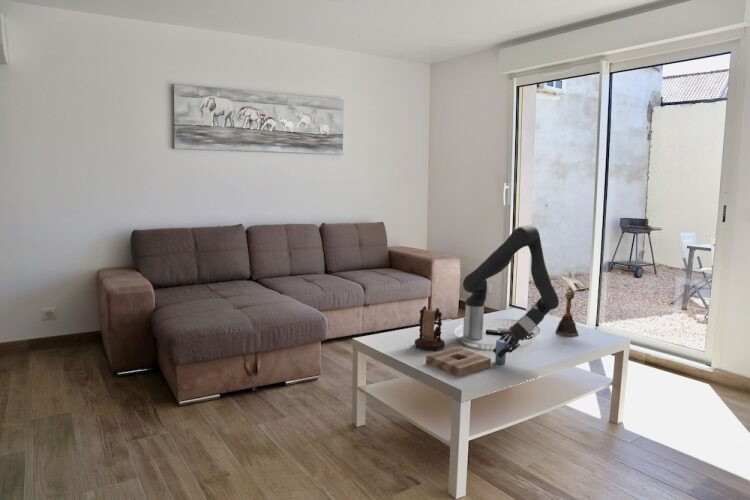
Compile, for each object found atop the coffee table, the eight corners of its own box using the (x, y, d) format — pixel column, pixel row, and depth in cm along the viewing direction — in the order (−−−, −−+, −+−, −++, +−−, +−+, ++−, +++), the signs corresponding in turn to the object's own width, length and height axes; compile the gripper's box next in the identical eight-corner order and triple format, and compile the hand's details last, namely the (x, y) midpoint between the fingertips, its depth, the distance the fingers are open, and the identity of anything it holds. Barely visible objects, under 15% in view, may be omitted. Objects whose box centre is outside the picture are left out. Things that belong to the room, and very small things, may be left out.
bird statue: (592, 336, 276) (597, 271, 271) (576, 340, 269) (580, 273, 265) (567, 328, 290) (571, 267, 285) (551, 331, 284) (555, 268, 279)
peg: (493, 362, 235) (494, 341, 233) (499, 360, 237) (500, 339, 236) (501, 365, 231) (502, 343, 230) (507, 363, 234) (508, 341, 233)
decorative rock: (501, 332, 283) (519, 341, 269) (502, 325, 282) (519, 334, 268) (519, 329, 287) (537, 338, 273) (519, 322, 286) (537, 331, 273)
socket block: (425, 363, 232) (426, 355, 231) (456, 354, 244) (457, 346, 244) (459, 377, 216) (459, 368, 216) (490, 367, 229) (490, 358, 228)
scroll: (409, 348, 252) (410, 308, 249) (421, 340, 265) (422, 302, 262) (438, 353, 245) (439, 312, 243) (449, 345, 258) (450, 305, 256)
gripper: (511, 317, 240) (485, 343, 240) (525, 326, 226) (497, 354, 226) (521, 328, 241) (495, 354, 241) (535, 337, 227) (508, 365, 227)
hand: (496, 354), depth 234 cm, fingers open, 4 cm apart
